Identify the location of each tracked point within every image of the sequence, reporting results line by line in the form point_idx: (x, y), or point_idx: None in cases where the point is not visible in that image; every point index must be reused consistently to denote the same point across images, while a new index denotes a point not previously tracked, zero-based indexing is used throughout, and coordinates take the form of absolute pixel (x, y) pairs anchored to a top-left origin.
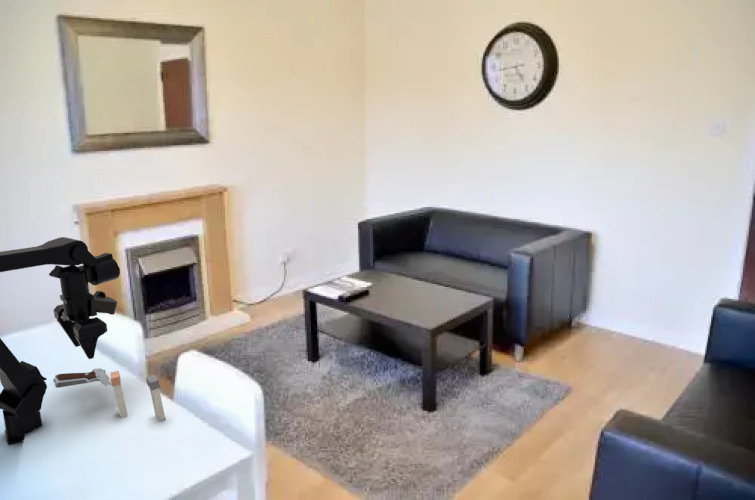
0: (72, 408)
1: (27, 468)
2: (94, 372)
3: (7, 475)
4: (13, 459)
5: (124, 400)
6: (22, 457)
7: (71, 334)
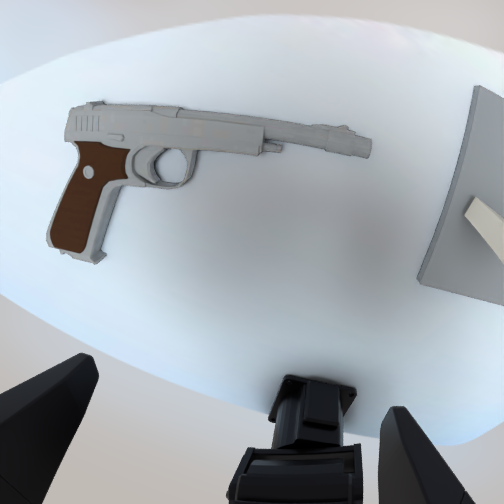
0: (268, 284)
1: (438, 424)
2: (90, 144)
3: None
4: None
5: (498, 217)
6: None
7: (49, 459)
